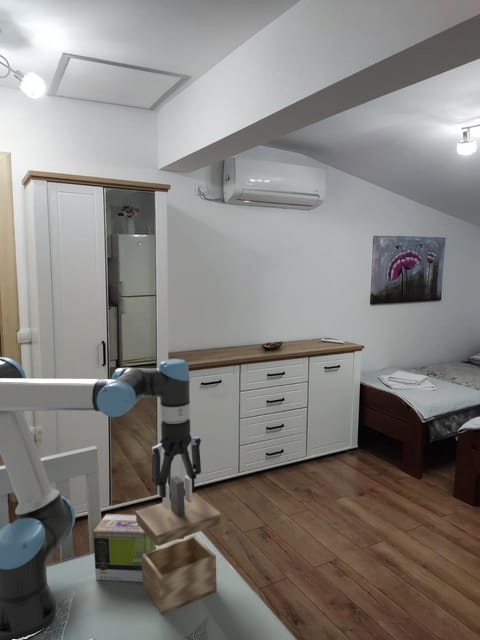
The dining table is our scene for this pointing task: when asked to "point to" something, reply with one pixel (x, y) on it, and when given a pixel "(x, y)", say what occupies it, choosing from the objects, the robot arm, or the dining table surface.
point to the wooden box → (178, 574)
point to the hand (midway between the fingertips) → (177, 504)
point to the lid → (177, 516)
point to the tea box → (120, 548)
